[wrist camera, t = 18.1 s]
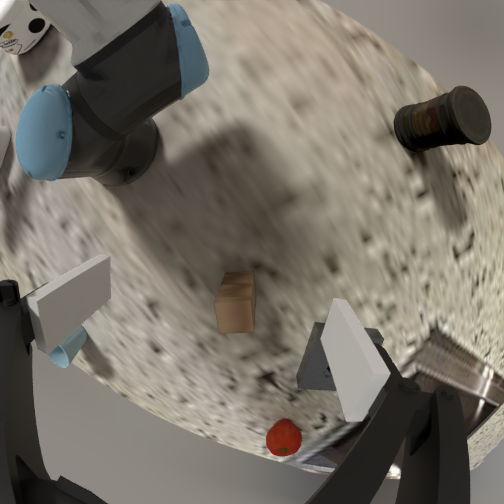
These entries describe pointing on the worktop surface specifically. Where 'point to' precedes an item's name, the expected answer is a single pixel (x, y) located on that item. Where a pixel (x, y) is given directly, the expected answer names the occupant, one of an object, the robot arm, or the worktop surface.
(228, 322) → the square bit
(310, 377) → the holder plate
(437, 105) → the container
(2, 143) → the power drill
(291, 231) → the worktop surface
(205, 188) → the worktop surface
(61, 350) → the cup
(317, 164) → the worktop surface
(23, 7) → the milk container
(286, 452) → the apple
